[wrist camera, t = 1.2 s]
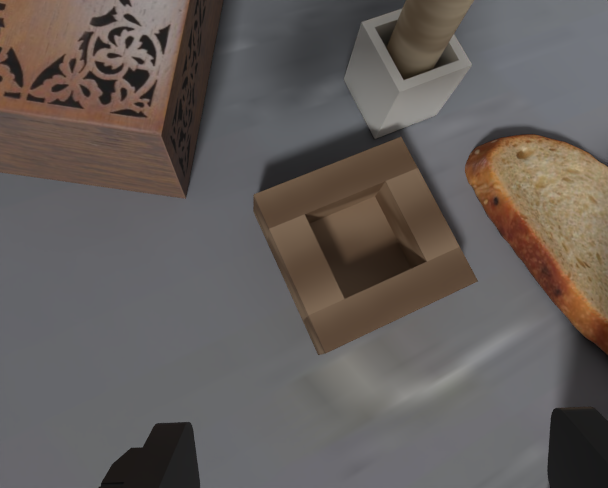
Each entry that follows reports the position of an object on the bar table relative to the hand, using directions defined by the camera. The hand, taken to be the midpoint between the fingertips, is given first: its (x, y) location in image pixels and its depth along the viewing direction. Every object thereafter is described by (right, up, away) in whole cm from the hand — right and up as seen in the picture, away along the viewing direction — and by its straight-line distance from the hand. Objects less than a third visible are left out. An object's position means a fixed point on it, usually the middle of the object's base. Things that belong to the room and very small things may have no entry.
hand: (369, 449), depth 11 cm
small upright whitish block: (+5, +16, +28) cm, 32 cm away
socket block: (+2, +4, +24) cm, 25 cm away
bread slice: (+19, +4, +26) cm, 33 cm away
